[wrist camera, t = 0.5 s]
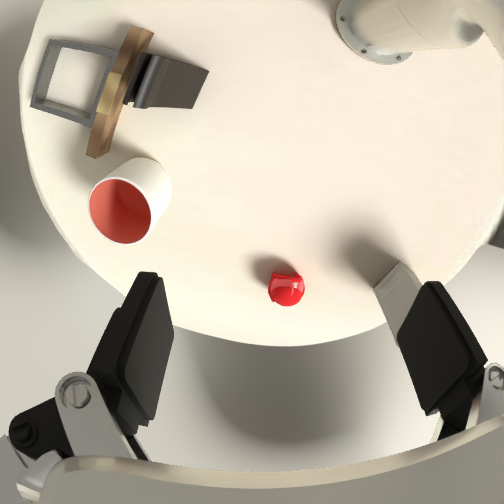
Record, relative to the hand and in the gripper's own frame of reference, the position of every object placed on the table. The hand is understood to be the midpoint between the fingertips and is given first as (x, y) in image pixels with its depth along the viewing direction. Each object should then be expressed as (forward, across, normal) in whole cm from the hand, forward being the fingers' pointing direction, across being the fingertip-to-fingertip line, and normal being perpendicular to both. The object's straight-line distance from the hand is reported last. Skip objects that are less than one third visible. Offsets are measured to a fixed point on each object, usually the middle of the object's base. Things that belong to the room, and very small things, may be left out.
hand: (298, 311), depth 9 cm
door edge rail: (+33, +22, -8) cm, 40 cm away
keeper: (+33, +30, -12) cm, 46 cm away
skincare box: (+33, -28, +24) cm, 49 cm away
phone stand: (+33, +14, -9) cm, 37 cm away
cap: (+33, -5, +25) cm, 42 cm away
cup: (+33, +19, +8) cm, 39 cm away
